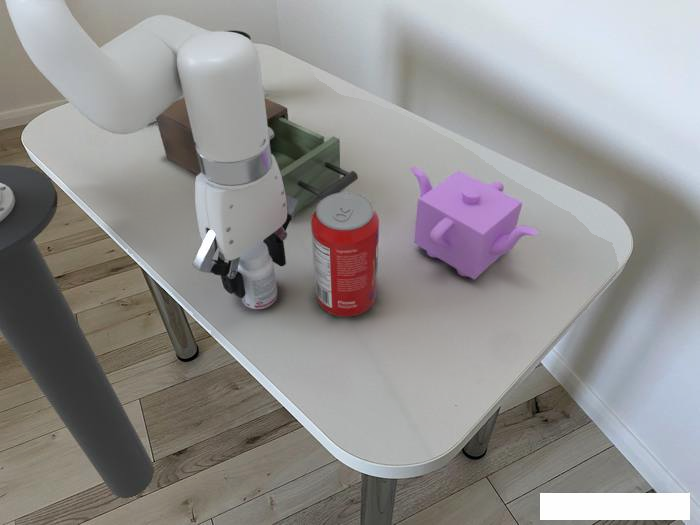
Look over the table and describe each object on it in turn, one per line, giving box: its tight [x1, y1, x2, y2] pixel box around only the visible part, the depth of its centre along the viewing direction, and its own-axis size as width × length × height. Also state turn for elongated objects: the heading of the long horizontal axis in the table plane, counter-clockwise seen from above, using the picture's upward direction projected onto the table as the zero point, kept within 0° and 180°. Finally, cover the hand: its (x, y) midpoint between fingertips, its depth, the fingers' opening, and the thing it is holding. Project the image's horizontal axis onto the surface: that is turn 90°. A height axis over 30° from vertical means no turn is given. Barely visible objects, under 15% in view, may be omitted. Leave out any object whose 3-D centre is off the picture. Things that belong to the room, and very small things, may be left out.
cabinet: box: [156, 97, 289, 176], centre depth 95 cm, size 17×14×10 cm
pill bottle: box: [237, 241, 279, 310], centre depth 73 cm, size 5×5×8 cm
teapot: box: [410, 166, 539, 280], centre depth 78 cm, size 15×13×11 cm
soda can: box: [310, 191, 380, 317], centre depth 70 cm, size 8×8×15 cm
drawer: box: [267, 117, 359, 217], centre depth 88 cm, size 21×12×8 cm, turn 51°
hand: (256, 275), depth 73 cm, fingers open, 6 cm apart
